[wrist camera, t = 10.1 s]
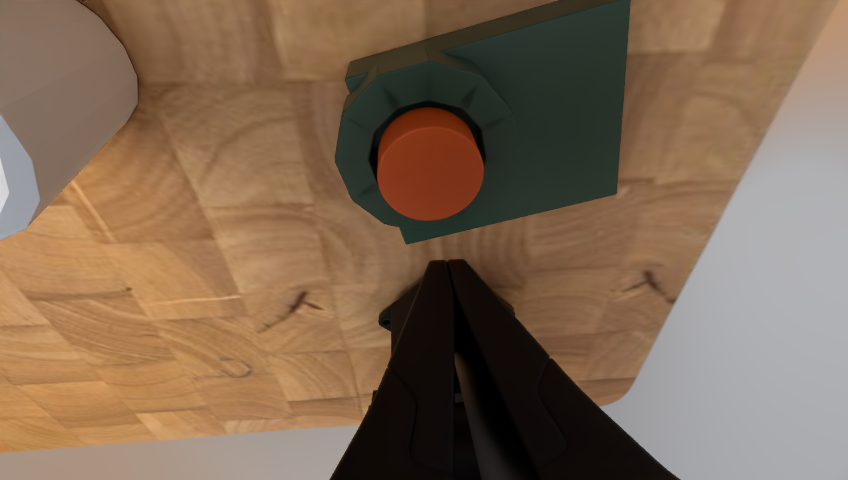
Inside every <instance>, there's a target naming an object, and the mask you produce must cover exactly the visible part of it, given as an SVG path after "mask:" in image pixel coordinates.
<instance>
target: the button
mask: <svg viewBox="0 0 848 480" xmlns="http://www.w3.org/2000/svg"><path fill="white" fill-rule="evenodd" d="M483 175H484V167H483V161H482V157H481V155H480V152H479V150H478V147H477V144H476V142H475V139H474V137H473V134H472V132H471V130H470V129H469V127H468V126H467V124H466V123H465V122H464V121H463V120H462V119H461V118H460V117H458V116H457V115H455V114H454V113H451V112H449V111H447V110H444V109H440V108H435V107H424V108H417V109H413V110H411V111H408V112H406V113H404V114H402V115H400V116H399V117H397V118H396V119H395V120H394V121H393V122H392V123H391V124H390V125H389V126H388V127H387V129H386V130H385V132H384V133H383V135H382V138H381V140H380V144H379V149H378V166H377V180H378V186H379V189H380V192H381V194H382V196H383V197H384V199H385V200H386V202H387V203H388V204H389V205H390V206H391V207H392V208H393V209H394V210H396V211H397V212H399V213H400V214H402V215H404V216H407V217H409V218H412V219H416V220H423V221H432V220H440V219H444V218H447V217H450V216H452V215H455V214H456V213H458V212H460V211H461V210H463V209H464V208H465V207H467V206H468V205H469V204H470V203H471V202H472V200H473V199H474V198H475V196H476V195H477V193H478V191H479V189H480V187H481V184H482V181H483Z"/></svg>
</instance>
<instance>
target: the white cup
mask: <svg viewBox="0 0 848 480" xmlns="http://www.w3.org/2000/svg"><path fill="white" fill-rule="evenodd" d="M137 104H138V86H137V75H136V73H135V71H134V68H133V66H132V64H131V61H130V59H129V57H128V55H127V52H126V50H125V48H124V46H123V45H122V44H121V43H120V41H119V40H118V39H117V38H116V37H115V35H114V34H113V33H112V32H111V31H110V29H109V28H108V27H107V26H106V25H105V23H104V22H103V21H102V20H101V19H100V17H99V16H97V15H96V14H95V13H93V12H92V11H90V10H89V9H88V8H86V7H85V6H84V5H82V4H81V3H79V2H78V1H77V0H0V241H1V240H3V239H5V238H7V237H9V236H11V235H13V234H16V233H18V232H20V231H22V230H24V229H26V228H27V227H28V226H29V225H30V224H31V223H32V222H33V221H34V220H35V219H36V218H37V217H38V215H39V214H40V213H41V212H42V211H43V210H44V209H45V208H46V207H47V206H48V205H49V204H50V203H51V202H52V201H53V200H54V199H55V197H56V196H57V195H58V194H59V193H60V192H61V191H62V190H63V189H64V188H65V187H66V186H67V185H68V184H69V183H70V182H71V181H72V179H73V178H74V177H75V176H76V175H77V174H78V173H79V172H80V171H81V170H82V169H83V168H84V167H85V166H86V165H87V164H88V163H89V162H90V160H91V159H92V158H93V157H94V156H95V155H96V154H97V153H98V152H99V151H100V150H101V149H102V148H103V147H104V146H105V145H106V144H107V142H108V141H109V140H110V139H111V138H112V137H113V136H114V135H115V134H116V133H117V132H118V131H119V130H120V129H121V128H122V127H123V126H124V124H125V123H126V122H127V121H128V119H129V118H130V116H131V114H132V112H133V111H134V109H135V107H136V105H137Z"/></svg>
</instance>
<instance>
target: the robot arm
mask: <svg viewBox="0 0 848 480" xmlns="http://www.w3.org/2000/svg"><path fill="white" fill-rule="evenodd" d="M378 323H379V325H380V326H382V327H384V328H385V329H387V330H389V331H391V359H390V361H389V364H388V368H387V369H386V371H385V373H384V376H383V378H382V381H381V383H380V385H379V388H378V390H374V391H373V396H372V403H371V405H369V408H368V411H367V413H366V415H365V417H364V419H363V421H362V423H361V425H360V427H359V429H358V430H357V432H356V434H355V435H354V437H353V439H352V441H351V443H350V444H349V446H348V448H347V450H346V451H345V453H344V455H343V457H342V459H341V460H340V462H339V464H338V466H337V467H336V469H335V471H334V473H333V474H332V476H331V478H330V480H680V479H679V478H677V477H676V476H675V475H673V474H672V473H671V472H670V471H668V470H667V469H666V468H665V467H663V466H662V465H661V464H660V463H659V462H658V461H657V460H655V459H654V458H653V457H652V456H651V455H650V454H649V453H648V452H647V451H646V450H645V449H644V448H642V447H641V446H640V445H639V444H638V443H637V442H636V441H635V440H634V439H633V438H632V437H631V436H630V435H628V434H627V433H626V432H625V431H624V430H623V429H622V428H621V427H620V426H619V425H618V424H617V423H615V422H614V421H613V420H612V419H611V418H610V417H609V416H608V415H607V414H606V413H604V412H603V411H602V410H601V409H600V408H599V407H598V406H597V405H596V404H595V403H594V402H593V401H592V400H591V399H590V398H589V397H588V396H587V395H586V394H585V393H584V392H583V391H582V390H581V389H580V388H579V387H578V386H577V385H576V384H575V383H574V382H573V381H572V380H571V379H570V377H569V376H568V375H567V374H566V373H565V372H564V371H563V370H562V369H561V368H560V367H559V365H558V364H557V363H556V362H555V361H554V360H553V359H552V358H550V356H549V354H548V353H547V352H546V351H545V350H544V349H543V348H542V346H541V345H540V344H539V343H538V342H537V341H536V340H535V339H534V337H533V336H532V335H531V334H530V333H529V332H528V331H527V330H526V328H525V327H524V326H523V325H522V324H521V323H520V322H519V321H518V319H517V318H516V317H515V312H514V309H513V308H512V307H511V306H510V305H509V304H507V303H506V302H504V301H503V300H502V299H500V298H499V297H498V296H496V295H495V294H494V292H493V291H492V290H491V289H490V288H489V287H488V286H487V285H486V283H485V282H484V281H483V280H482V279H481V278H480V277H479V276H478V274H477V273H476V272H475V271H474V270H473V269H472V268H471V267H470V265H469V264H468V263H467V262H466V261H465V260H463V259H455V260H448V261H447V262H446V261H445V260H433V261H430V262H429V263H428V266H427V268H426V271H425V273H424V276H423V278H422V281H421V283H420V284H419V285H417V286H416V287H414V288H413V289H412V290H411V291H409V292H408V293H407V294H405V295H404V296H403V297H401V298H400V299H399V300H398V301H396V302H395V303H394V304H392V306H390V307H389V308H388V309H386V310H385V311H384V312H383V313H381V314H380V315H379V322H378ZM549 358H550V359H549Z"/></svg>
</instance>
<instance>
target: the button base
mask: <svg viewBox="0 0 848 480" xmlns="http://www.w3.org/2000/svg"><path fill="white" fill-rule="evenodd" d="M630 2H631V0H559V1H556V2H553V3H549V4H546V5H542V6H539V7H535V8H532V9H529V10H525V11H522V12H518V13H515V14H512V15H508V16H505V17H501V18H498V19H495V20H491V21H488V22H484V23H481V24H477V25H474V26H471V27H467V28H464V29H460V30H457V31H454V32H450V33H447V34H443V35H440V36H437V37H433V38H430V39H426V40H423V41H419V42H416V43H413V44H409V45H406V46H402V47H399V48H396V49H392V50H389V51H385V52H382V53H379V54H375V55H372V56H368V57H365V58H362V59H358V60H355V61H351V62H350V64H349V68H348V71H347V75H346V78H345V81H346V84H347V87H348V89H349V92H350V94H349V95H348V96H347V98H346V100H345V104H344V108H343V111H342V115H341V121H340V127H339V134H338V140H337V147H336V153H335V163H336V165H337V167H338V170H339V172H340V174H341V176H342V179H343V181H344V183H345V185H346V188H347V190H348V192H349V195H350V197H351V199H352V200H353V201H354V202H355V203H357V204H358V205H359V206H361V207H362V208H363V209H365V210H366V211H368V212H369V213H370V214H372V215H373V216H374V217H376V218H377V219H378V220H380V221H381V222H382V223H384V224H387V225H391V226H397V227H399V228H400V230H401V233H402V236H403V238H404V241H405V243H406V244H411V243H415V242H419V241H423V240H427V239H432V238H436V237H440V236H444V235H448V234H453V233H457V232H461V231H465V230H469V229H473V228H478V227H482V226H486V225H490V224H494V223H498V222H503V221H507V220H511V219H515V218H519V217H524V216H528V215H532V214H536V213H540V212H544V211H549V210H553V209H557V208H561V207H565V206H570V205H574V204H578V203H582V202H586V201H590V200H595V199H599V198H603V197H607V196H611V195H615V194H617V182H618V168H619V155H620V141H621V127H622V113H623V99H624V85H625V71H626V57H627V44H628V30H629V16H630ZM424 107H435V108H440V109H444V110H447V111H449V112H451V113H454V114H455V115H457V116H458V117H460V118H461V119H462V120H463V121H464V122H465V123H466V124H467V126H468V127H469V129H470V130H471V132H472V134H473V137H474V139H475V142H476V144H477V147H478V150H479V152H480V155H481V157H482V161H483V167H484V175H483V181H482V184H481V187H480V189H479V191H478V193H477V195H476V196H475V198H474V199H473V200H472V202H471V203H470V204H469V205H468V206H467V207H465V208H464V209H463V210H461V211H460V212H458V213H456V214H455V215H452V216H450V217H447V218H444V219H440V220H432V221H423V220H416V219H412V218H409V217H407V216H404V215H402V214H400V213H399V212H397V211H396V210H394V209H393V208H392V207H391V206H390V205H389V204H388V203H387V202H386V200H385V199H384V197H383V196H382V194H381V192H380V189H379V186H378V180H377V166H378V149H379V144H380V140H381V138H382V135H383V133H384V132H385V130H386V129H387V127H388V126H389V125H390V124H391V123H392V122H393V121H394V120H395V119H396V118H397V117H399V116H400V115H402V114H404V113H406V112H408V111H411V110H413V109H417V108H424Z"/></svg>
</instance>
